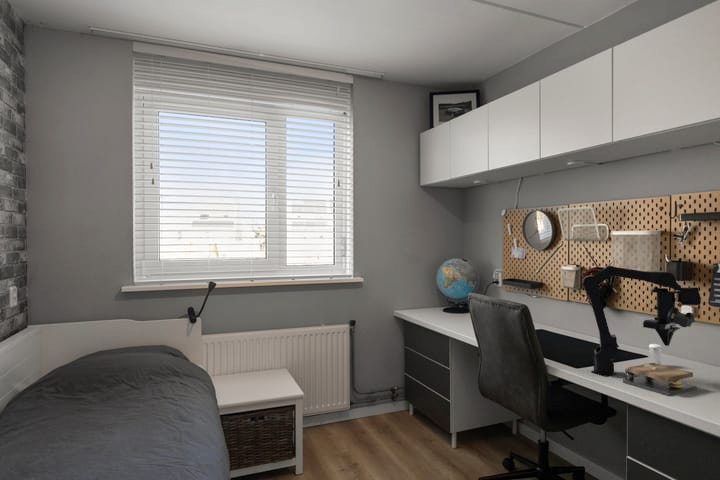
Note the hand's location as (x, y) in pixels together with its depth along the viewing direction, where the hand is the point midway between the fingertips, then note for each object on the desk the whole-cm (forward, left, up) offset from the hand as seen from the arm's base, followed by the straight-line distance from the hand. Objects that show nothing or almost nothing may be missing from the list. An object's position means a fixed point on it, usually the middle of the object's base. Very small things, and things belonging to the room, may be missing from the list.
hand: (666, 345), depth 164 cm
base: (+3, -10, -13) cm, 17 cm away
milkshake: (-14, +16, -13) cm, 25 cm away
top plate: (+3, -10, -9) cm, 14 cm away
